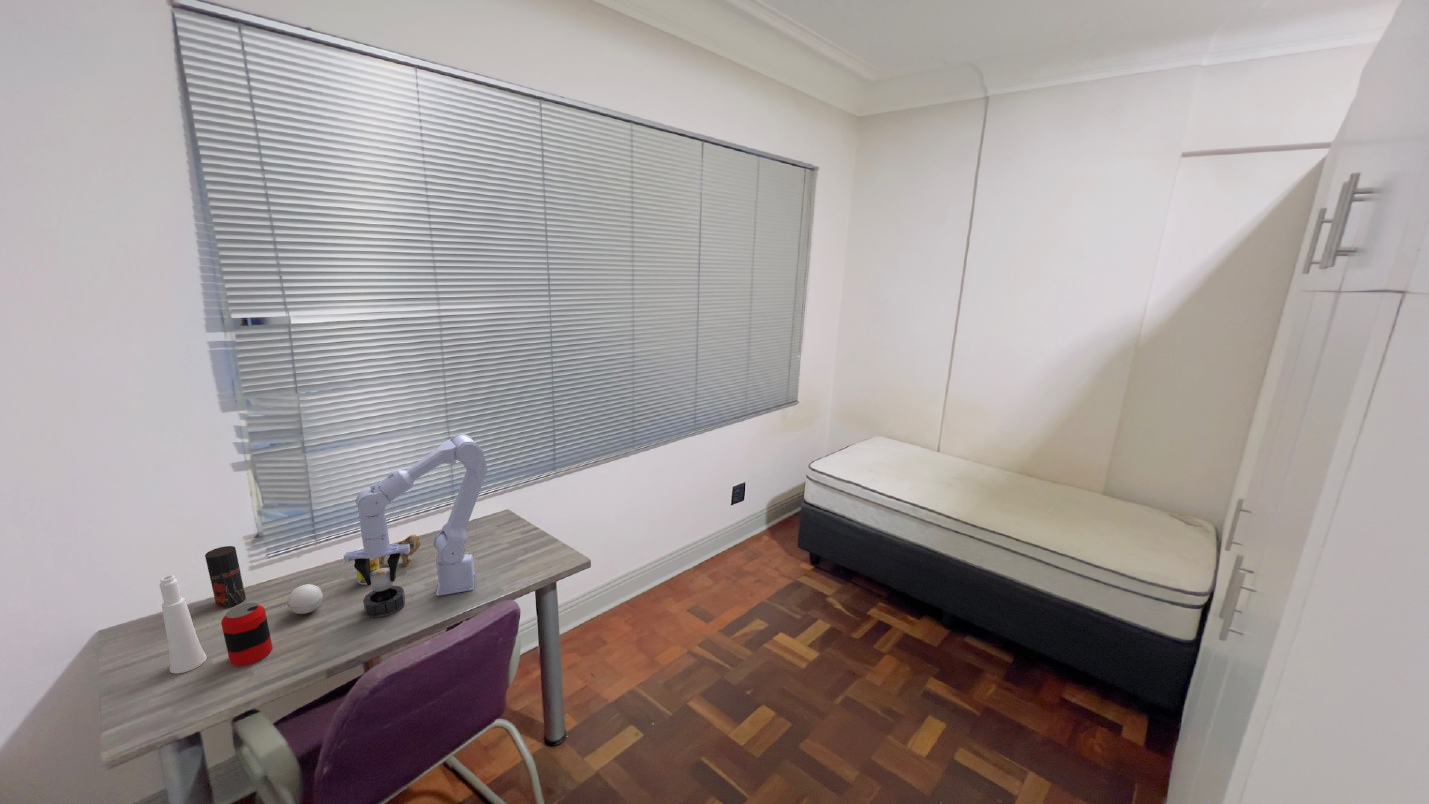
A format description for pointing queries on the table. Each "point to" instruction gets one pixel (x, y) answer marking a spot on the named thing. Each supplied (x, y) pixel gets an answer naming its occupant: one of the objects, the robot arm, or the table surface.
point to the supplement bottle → (373, 566)
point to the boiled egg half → (380, 579)
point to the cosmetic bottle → (179, 629)
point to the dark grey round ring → (384, 602)
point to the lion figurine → (414, 545)
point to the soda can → (246, 634)
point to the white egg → (304, 599)
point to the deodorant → (225, 577)
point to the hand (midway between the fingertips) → (381, 581)
